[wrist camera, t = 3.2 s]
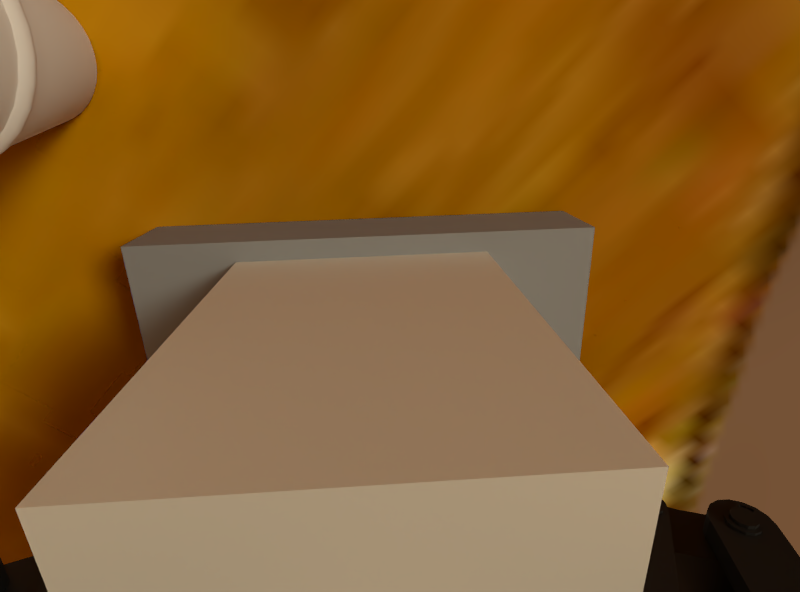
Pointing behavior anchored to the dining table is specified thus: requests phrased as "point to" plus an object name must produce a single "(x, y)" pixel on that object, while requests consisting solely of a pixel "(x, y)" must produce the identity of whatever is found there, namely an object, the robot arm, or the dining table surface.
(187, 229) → the socket board
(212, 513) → the block
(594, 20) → the dining table surface
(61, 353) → the dining table surface
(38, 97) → the soft serve ice cream cone
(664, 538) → the robot arm
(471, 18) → the dining table surface
